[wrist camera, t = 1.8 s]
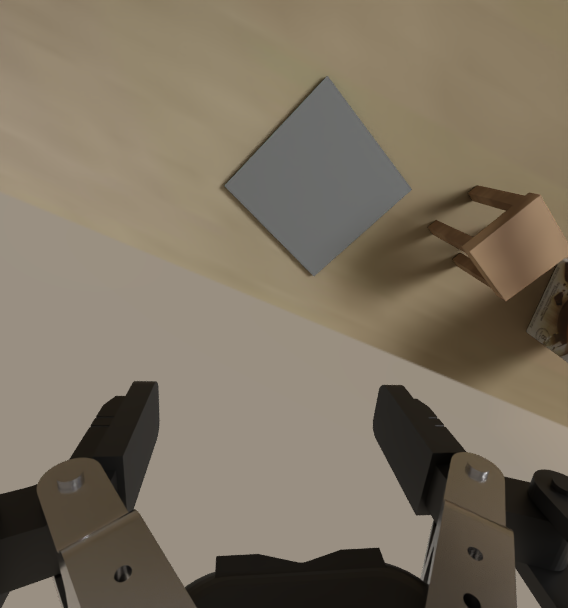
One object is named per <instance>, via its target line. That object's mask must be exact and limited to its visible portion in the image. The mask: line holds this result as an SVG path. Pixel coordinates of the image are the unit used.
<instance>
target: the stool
mask: <svg viewBox="0 0 568 608" xmlns="http://www.w3.org/2000/svg"><path fill="white" fill-rule="evenodd" d="M468 194H469V195H470V197H471V198H472V200H473V201H475V202H478V203H482V204H485V205H489V206H492V207H495V208H499V209H502V210H506V212H504V213H503V214H502V215H501V216H499V217H498V218H497V219H496V220H494V221H493V222H492V223H491V224H489V225H488V226H487V227H486V228H484V229H483V230H482V231H481V232H479V233H478V234H477V235H476V236H474V237H472V236H469V235H467V234H465V233H463V232H461V231H459V230H456V229H454V228H452V227H450V226H448V225H446V224H444V223H441V222H439V221H437V220H436V221H434V222H433V223H432V224H431V225H430V226H429V227H428V229H429V230H430V231H431V232H432V234H433V235H435V236H437V237H438V238H440V239H442V240H444V241H446V242H447V243H449V244H451V245H453V246H455V247H456V248H458V249H460V250H462V251H464V252H465V253H466V254H467V255H468V257H467V256H465V255H463V254H462V253H460V254H458V255H457V256H456V257H455V258H453V259H452V260H453V261H454V263H455V264H456V265H457V266H458V267H459V268H461V269H462V270H464V271H465V272H467V273H469V274H470V275H472V276H473V277H475V278H476V279H478V280H479V281H481V282H482V283H484V284H486V285H487V286H489V287H490V288H492V289H493V291H494V292H495V293H496V295H497V296H499V297H500V298H502V299H503V300H505V301H507V300H508V299H510V298H511V297H513V296H514V295H515V294H517V293H518V292H519V291H521V290H522V289H523V288H525V287H526V286H528V285H529V284H530V283H532V282H533V281H534V280H536V279H537V278H539V277H540V276H541V275H543V274H544V273H545V272H547V271H548V270H549V269H551V268H552V267H554V266H555V265H556V264H558V263H559V262H560V261H562V260H563V259H565V258H566V257H567V256H568V242H567V240H566V238H565V236H564V235H563V233H562V231H561V229H560V228H559V226H558V224H557V223H556V221H555V219H554V217H553V216H552V214H551V212H550V210H549V209H548V207H547V205H546V203H545V202H544V200H543V198H542V196H541V195H538V194H534V193H528V194H527V195H525V196H523V195H519V194H514V193H510V192H505V191H501V190H496V189H491V188H487V187H482V186H478V185H477V186H476V187H475V188H474V189H472V190H471V191H470V192H469V193H468Z"/></svg>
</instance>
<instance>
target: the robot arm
mask: <svg viewBox="0 0 568 608" xmlns="http://www.w3.org/2000/svg"><path fill="white" fill-rule="evenodd" d="M158 431H159V394H158V383H157V382H153V381H147V382H146V381H134V382H133V383H132V386H131V387H130V389H129V391H128V393H127V394H126V396H115V397H114V398H113V399H111V400H110V401H108V402H107V403H106V404H104V405H103V406H102V408H101V410H100V411H99V413H98V415H97V416H96V418H95V419H94V421H93V422H92V424H91V427H90V428H89V429H88V431H87V432H86V434H85V435H84V437H83V439H82V440H81V442H80V443H79V445H78V446H77V448H76V450H75V451H74V453H73V454H72V456H71V458H70V459H69V460H67V461H65V462H62V463H60V464H58V465H56V466H54V467H52V468H51V469H50V470H48V471H47V472H46V473H45V474H44V475H43V476H42V477H41V479H40V480H39V482H38V484H36V485H34V486H31V487H27V488H24V489H20V490H15V491H12V492H8V493H3V494H0V608H1V607H2V605H3V603H4V602H5V599H6V597H7V596H8V594H9V592H10V591H12V590H15V589H18V588H21V587H24V586H26V585H29V584H32V583H35V582H38V581H41V580H43V579H46V578H49V577H52V578H53V581H54V585H55V588H56V591H57V594H58V598H59V601H60V604H61V607H62V608H517V600H516V577H515V568H516V569H517V571H518V573H519V574H520V576H521V577H522V579H523V580H524V582H525V583H526V585H527V586H528V588H529V589H530V591H531V592H532V594H533V595H534V597H535V598H536V600H537V602H538V603H539V604H540V606H541V608H568V476H565V475H563V474H561V473H558V472H555V471H551V470H538V471H536V472H535V473H534V475H533V478H532V480H531V483H530V482H525V481H521V480H517V479H512V478H508V477H504V476H503V474H502V472H501V471H500V470H499V468H498V467H497V466H496V465H494V464H493V463H492V462H490V461H489V460H487V459H485V458H483V457H481V456H479V455H476V454H473V453H468V452H466V451H465V450H464V449H463V447H462V446H461V445H460V444H459V442H458V441H457V440H456V439H455V438H454V437H453V435H452V434H451V433H450V432H449V430H448V429H447V428H446V427H444V424H443V423H442V422H441V421H440V420H439V419H437V416H436V415H435V414H434V412H433V411H432V410H431V409H430V408H429V407H428V406H427V405H425V404H424V403H422V402H421V401H419V400H418V399H413V397H412V396H411V395H410V394H409V392H408V391H407V390H406V389H405V387H404V386H402V385H382V386H381V387H380V389H379V393H378V398H377V403H376V408H375V413H374V419H373V431H374V435H375V438H376V440H377V442H378V444H379V445H380V447H381V449H382V451H383V453H384V455H385V457H386V459H387V461H388V463H389V465H390V467H391V468H392V470H393V472H394V474H395V476H396V478H397V480H398V482H399V484H400V485H401V487H402V489H403V491H404V493H405V495H406V497H407V499H408V501H409V503H410V504H411V506H412V508H413V510H414V512H415V514H416V515H431V516H432V518H433V519H434V521H433V524H432V528H431V532H430V537H429V541H428V546H427V551H426V555H425V560H424V565H423V570H422V574H421V579H420V578H418V577H416V576H415V575H413V574H411V573H410V572H408V571H406V570H403V569H401V568H399V567H396V566H393V565H391V564H387V563H385V562H384V560H383V557H382V554H381V552H380V549H379V548H366V549H348V550H347V549H346V550H339V551H336V552H333V553H330V554H328V555H325V556H322V557H319V558H316V559H313V560H311V561H307V562H304V563H298V562H293V561H289V560H284V559H279V558H275V557H269V556H265V555H260V554H250V555H231V556H217V557H216V570H215V572H213V573H210V574H207V575H205V576H203V577H201V578H199V579H197V580H195V581H194V582H192V583H191V584H189V585H187V586H186V587H184V586H183V584H182V582H181V581H180V579H179V578H178V576H177V574H176V573H175V571H174V569H173V568H172V566H171V564H170V563H169V561H168V560H167V558H166V556H165V554H164V553H163V551H162V550H161V548H160V546H159V545H158V543H157V541H156V540H155V538H154V536H153V535H152V533H151V532H150V530H149V528H148V527H147V525H146V523H145V522H144V520H143V518H142V517H141V515H140V514H139V513H138V511H137V510H135V509H134V506H135V503H136V500H137V497H138V494H139V491H140V488H141V485H142V482H143V479H144V476H145V473H146V470H147V467H148V464H149V461H150V458H151V455H152V452H153V449H154V446H155V443H156V440H157V437H158Z"/></svg>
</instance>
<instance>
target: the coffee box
mask: <svg viewBox="0 0 568 608" xmlns="http://www.w3.org/2000/svg"><path fill="white" fill-rule="evenodd" d="M526 332H527V333H528V334H529V335H531V336H532V337H534V338H535V339H536V340H538V341H539V342H540V343H542V344H543V345H545V346H546V347H547V348H549V349H550V350H551V351H553V352H554V353H555V354H557V355H558V356H559V357H561V358H562V359H563V360H565V361H566V362H568V259H563V260H562V261H560V262H559V263H558V264H557V266H556V268H555V271H554V273H553V275H552V277H551V279H550V281H549V284H548V286H547V288H546V290H545V292H544V294H543V297H542V299H541V301H540V303H539V305H538V307H537V309H536V312H535V314H534V316H533V318H532V320H531V322H530V324H529V326H528V329H527V331H526Z"/></svg>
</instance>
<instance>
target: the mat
mask: <svg viewBox="0 0 568 608" xmlns="http://www.w3.org/2000/svg"><path fill="white" fill-rule="evenodd" d="M224 186H225V187H226V188H227V189H228V190H229V191H230V192H231V193H232V194H233V195H234V196H235V197H236V198H237V199H238V200H239V201H240V202H241V203H242V204H243V205H244V206H245V207H246V208H247V209H248V210H249V211H250V212H251V213H252V214H253V215H254V216H255V217H256V218H257V219H258V220H259V221H260V222H261V223H262V225H263V226H264V227H265V228H266V229H267V230H268V231H269V232H270V233H271V234H272V235H273V236H274V237H275V238H276V239H277V240H278V241H279V242H280V243H281V244H282V245H283V246H284V247H285V248H286V249H287V250H288V251H289V252H290V253H291V254H292V255H293V256H294V257H295V258H296V259H297V260H298V261H299V262H300V263H301V264H302V265H303V266H304V267H305V268H306V269H307V270H308V271H309V272H310V273H311V274H312V275H313V276H315V275H316V274H317V273H318V272H320V271H321V270H322V269H323V268H324V267H325V266H326V265H327V264H329V263H330V262H331V261H332V260H333V259H334V258H335V257H336V256H338V255H339V254H340V253H341V252H342V251H343V250H344V249H345V248H347V247H348V246H349V245H350V244H351V243H352V242H353V241H354V240H356V239H357V238H358V237H359V236H360V235H361V234H362V233H363V232H365V231H366V230H367V229H368V228H369V227H370V226H371V225H372V224H374V223H375V222H376V221H377V220H378V219H379V218H380V217H381V216H383V215H384V214H385V213H386V212H387V211H388V210H389V209H390V208H392V207H393V206H394V205H395V204H396V203H397V202H398V201H399V200H401V199H402V198H403V197H404V196H405V195H406V194H407V193H408V192H410V191H411V190H412V189H411V188H410V186H409V185H408V184H407V182H406V181H405V180H404V178H403V177H402V176H401V174H400V173H399V172H398V170H397V169H396V167H395V166H394V165H393V163H392V162H391V161H390V159H389V158H388V157H387V155H386V154H385V153H384V151H383V150H382V149H381V147H380V146H379V145H378V143H377V142H376V141H375V139H374V138H373V137H372V135H371V134H370V132H369V131H368V130H367V128H366V127H365V126H364V124H363V123H362V122H361V120H360V119H359V118H358V116H357V115H356V114H355V112H354V111H353V110H352V108H351V107H350V106H349V104H348V103H347V102H346V100H345V99H344V97H343V96H342V95H341V93H340V92H339V91H338V89H337V88H336V87H335V85H334V84H333V83H332V81H331V80H330V79H329V77H328V76H327V77H326V78H325V79H324V80H323V81H322V82H321V83H320V84H319V85H318V86H317V87H316V88H315V89H314V90H313V92H312V93H311V94H310V95H309V96H308V97H307V98H306V99H305V100H304V101H303V102H302V103H301V104H300V105H299V106H298V108H297V109H296V110H295V111H294V112H293V113H292V114H291V115H290V116H289V117H288V118H287V119H286V120H285V121H284V122H283V124H282V125H281V126H280V127H279V128H278V129H277V130H276V131H275V132H274V133H273V134H272V135H271V136H270V137H269V138H268V140H267V141H266V142H265V143H264V144H263V145H262V146H261V147H260V148H259V149H258V150H257V151H256V152H255V153H254V154H253V156H252V157H251V158H250V159H249V160H248V161H247V162H246V163H245V164H244V165H243V166H242V167H241V168H240V169H239V170H238V172H237V173H236V174H235V175H234V176H233V177H232V178H231V179H230V180H229V181H228V182H227V183H226V184H225V185H224Z"/></svg>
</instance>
